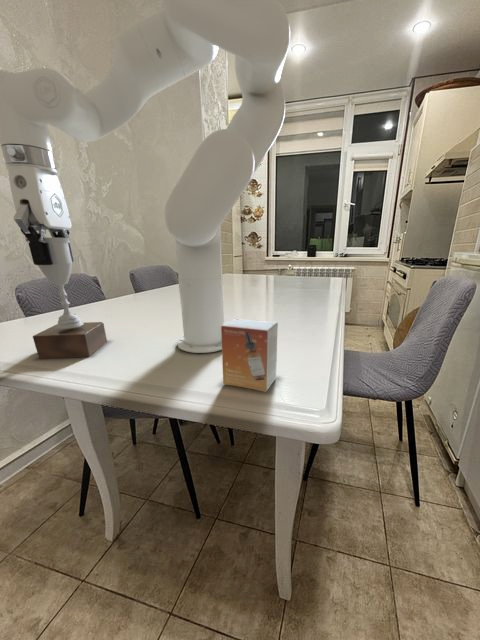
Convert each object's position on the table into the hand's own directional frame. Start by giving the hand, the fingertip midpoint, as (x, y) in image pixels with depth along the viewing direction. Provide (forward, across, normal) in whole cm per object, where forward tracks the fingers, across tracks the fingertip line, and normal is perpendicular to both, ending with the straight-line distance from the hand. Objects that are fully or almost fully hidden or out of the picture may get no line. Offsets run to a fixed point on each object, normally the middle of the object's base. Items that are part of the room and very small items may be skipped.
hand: (55, 262), depth 59 cm
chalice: (+13, 0, 0) cm, 13 cm away
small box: (+19, -21, -38) cm, 47 cm away
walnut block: (+19, 0, 0) cm, 19 cm away
